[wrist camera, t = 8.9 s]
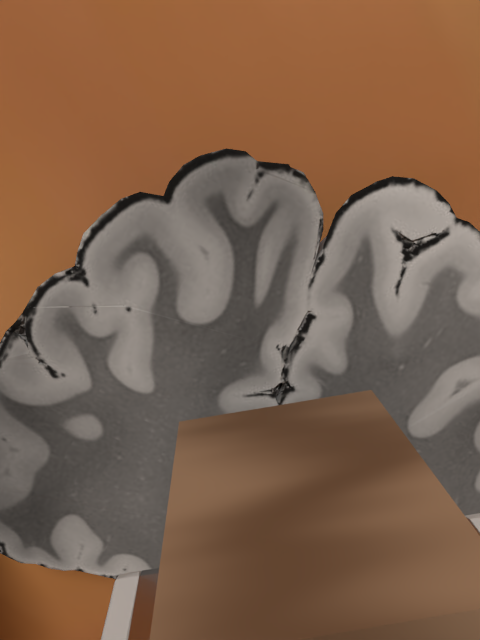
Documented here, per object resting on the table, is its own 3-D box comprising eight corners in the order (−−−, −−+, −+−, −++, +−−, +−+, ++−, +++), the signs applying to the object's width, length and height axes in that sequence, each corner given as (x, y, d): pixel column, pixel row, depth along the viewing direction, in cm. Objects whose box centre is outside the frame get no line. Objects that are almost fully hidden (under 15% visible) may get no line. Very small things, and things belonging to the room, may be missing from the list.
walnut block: (371, 390, 12) (527, 600, 6) (381, 542, 13) (512, 826, 7) (179, 422, 11) (145, 665, 6) (212, 570, 13) (212, 878, 7)
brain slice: (580, 221, 16) (660, 231, 13) (430, 586, 21) (464, 650, 18) (6, 100, 14) (-47, 80, 11) (-9, 542, 19) (-49, 608, 16)
